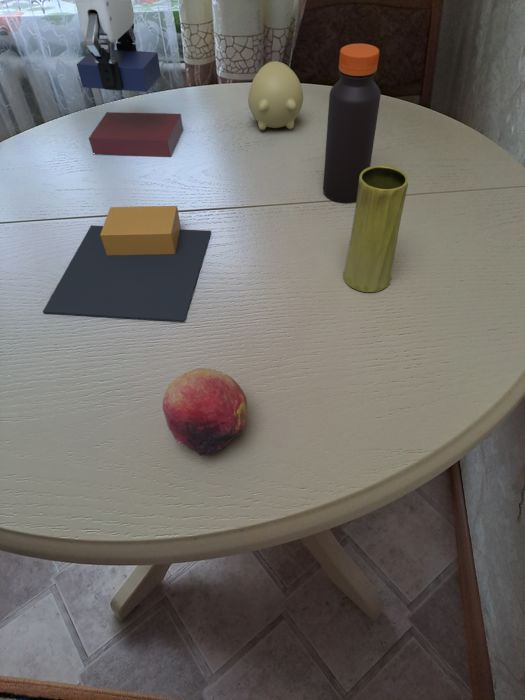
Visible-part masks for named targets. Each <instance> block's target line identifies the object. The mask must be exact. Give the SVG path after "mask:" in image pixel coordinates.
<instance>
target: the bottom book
mask: <svg viewBox="0 0 525 700" xmlns="http://www.w3.org/2000/svg"><path fill="white" fill-rule="evenodd" d="M183 131H184V127H183V121H182V115H181V113H165V112H164V113H162V112H161V113H160V112H159V113H157V112H120V111H119V112H117V111H116V112H115V111H114V112H113V111H107V112H106V113H105V114H104V115H103V117H102V118H101V119H100V120H99V122H98V124H97V125H96V127H95V128H94V129H93V131H92V132H91V134H90V135H89V137H88V141H89V145H90V147H91V150H92V154H93V153H95V154H113V155H112V156H126V157H127V156H131V157H160V158H161V157H165V158H171V157H172V155H173V153H174V151H175V149H176V146H177V144H178V142H179V140H180V138H181V135H182V133H183Z"/></svg>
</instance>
